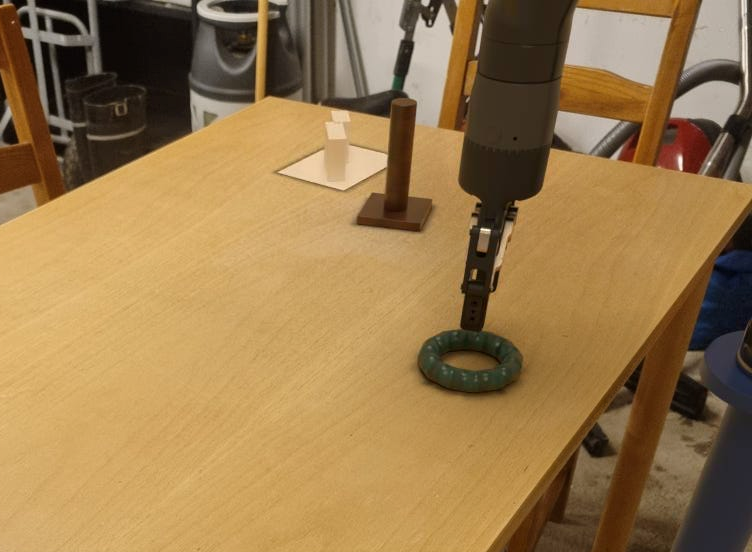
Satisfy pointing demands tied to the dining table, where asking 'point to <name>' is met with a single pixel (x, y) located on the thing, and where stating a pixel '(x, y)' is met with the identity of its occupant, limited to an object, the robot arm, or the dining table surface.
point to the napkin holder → (338, 158)
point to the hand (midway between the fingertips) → (478, 309)
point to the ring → (463, 377)
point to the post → (398, 177)
